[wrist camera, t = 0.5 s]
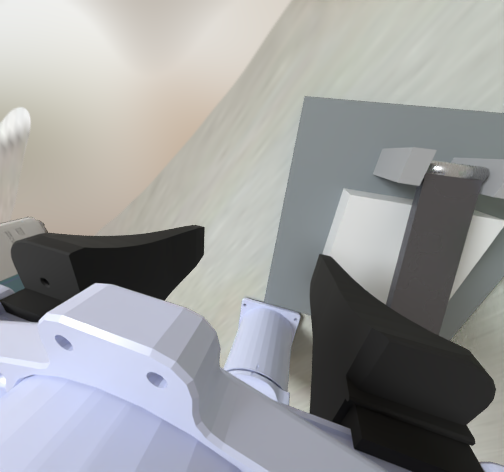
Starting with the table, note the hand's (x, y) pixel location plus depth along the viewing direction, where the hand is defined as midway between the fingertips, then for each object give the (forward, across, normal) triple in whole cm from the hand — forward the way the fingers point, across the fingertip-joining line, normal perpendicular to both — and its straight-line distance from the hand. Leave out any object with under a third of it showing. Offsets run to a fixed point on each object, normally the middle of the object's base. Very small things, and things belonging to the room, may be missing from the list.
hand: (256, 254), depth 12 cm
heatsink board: (+10, -10, +1) cm, 15 cm away
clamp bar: (+3, -11, 0) cm, 11 cm away
